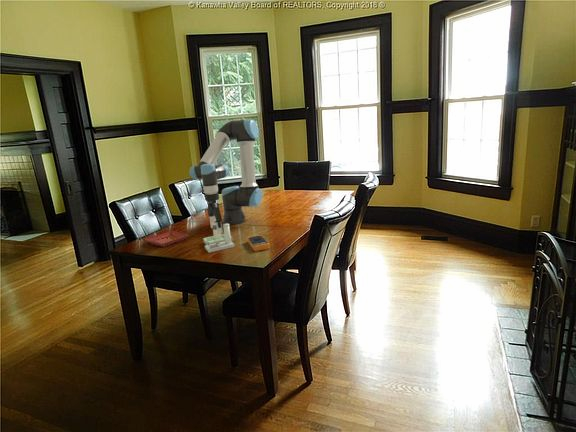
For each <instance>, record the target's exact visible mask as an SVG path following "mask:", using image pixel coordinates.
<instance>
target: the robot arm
mask: <svg viewBox="0 0 576 432" xmlns="http://www.w3.org/2000/svg"><path fill="white" fill-rule="evenodd" d="M258 127H259V126H258V124H257V123H256V121H255V120H253V119H249V118H248V119H239V120H229V121H227V122H226V123H224V124H223V125H222V126H221V127H219V129H218V130H217V132H216V133H215V135H214V137H215V138H214V139H213V141H211V143H210V145H209V147H208V148H207V149H206V151H205V153H204V154H203V156H202V158H201V159H200V160H199V162H198V164H197V165H193V166H191V167H190V168H189V175H190V177H191V179H194V180H202V185H203V188H202V190H203V192H204V200H205V201H206V203H207V216H208V217H209V223H210V229H213V228H212V220H215V219H216V221H215V223H216V227H217V234H220V233H221V234H224V230H223V224H226V223H228V224H229V226H230V225H238V224H243V223H244V222H246V219H247V218H246V215H245V214H244V211H243V207H250V208H254V207H255V208H256V207H258V206H260V205H261V203H262V201H263V191H262V189H261V188H259V185H258V183H257V181H256V170H255V169H256V167H255V152H254V151H255V150H254V144H255V143H256V139H258V138H259V134H260V132H259V131H260V130H259V128H258ZM234 140H236V143H237V144H238V145H239V158H240V173H241V184H240V185H233V186H229V187H225V188H223V189H222V190H221V199H222V205H223V216H222V214H221V210H220V207H219V205H220V204H219V202H217V201H219V200H220V194H219V186H218V180H222V179H225V178H226V177H228V176H229V174H230V169H229V166H228V165H227V164H224V163H220V164H215V162H216V161H217V159H218V158H219V156H220V155H221V153H222V152H223V150H224V148H225V147H226V145H229V144H230V142H231V141H234ZM222 223H223V224H222Z"/></svg>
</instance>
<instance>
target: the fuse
mask: <svg viewBox="0 0 576 432" xmlns="http://www.w3.org/2000/svg"><path fill="white" fill-rule="evenodd" d="M222 230H223V234H224V236H225V243H226V244H230V243H231V237H232V236H231V231H230V230H231V229H230V225H229V224H228V223H226V224H222Z"/></svg>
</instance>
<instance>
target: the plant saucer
mask: <svg viewBox="0 0 576 432" xmlns="http://www.w3.org/2000/svg"><path fill="white" fill-rule="evenodd" d="M170 235H173V236H177V237H178V238H177V239H176V238H175V239H174V240H172V239H170V238H169V237H168V236H170ZM188 236H189V233H183V232H178V231H173V230H171V231H166V232H164V233H160V234H157V235H154V236H151V237H147V238H145V241H146V242H147V243H149V244H150V243H151V245H154V244H155V246H158V245H159V246H158V247H162V246H163V247H162V248H165V246H166V247H168V246H171V245H174V244H176V243H175V242H177V243H180V242H182V241H181V240H183V241H185V240H186V239H187V238H188ZM165 237H168V239H167V238H165ZM162 238H164V239H162ZM158 239H159V240H158ZM184 239H185V240H184ZM179 241H180V242H179ZM173 243H174V244H173ZM170 244H171V245H170ZM167 245H168V246H167Z"/></svg>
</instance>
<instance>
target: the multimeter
mask: <svg viewBox="0 0 576 432" xmlns="http://www.w3.org/2000/svg"><path fill="white" fill-rule="evenodd" d="M246 240H247V243H248V245H249V246H250V248H252V250H253V252H260V250H261V251H265V250H268V249H270V243H269V242H268V241H267V240H266V239H265V237H264V236H263V235H261V234H255V235H250V236H247V237H246Z"/></svg>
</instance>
